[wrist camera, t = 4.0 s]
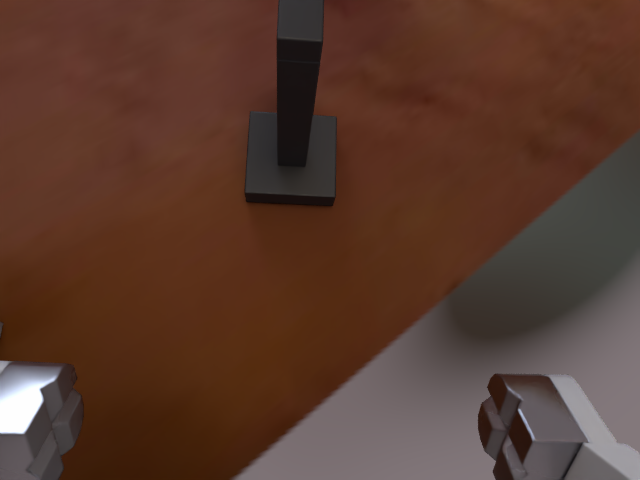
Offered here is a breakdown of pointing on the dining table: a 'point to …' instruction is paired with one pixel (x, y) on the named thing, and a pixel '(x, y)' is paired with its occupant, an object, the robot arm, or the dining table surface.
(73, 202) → the dining table surface
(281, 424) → the dining table surface
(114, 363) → the dining table surface
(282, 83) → the black hanger
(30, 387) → the robot arm
